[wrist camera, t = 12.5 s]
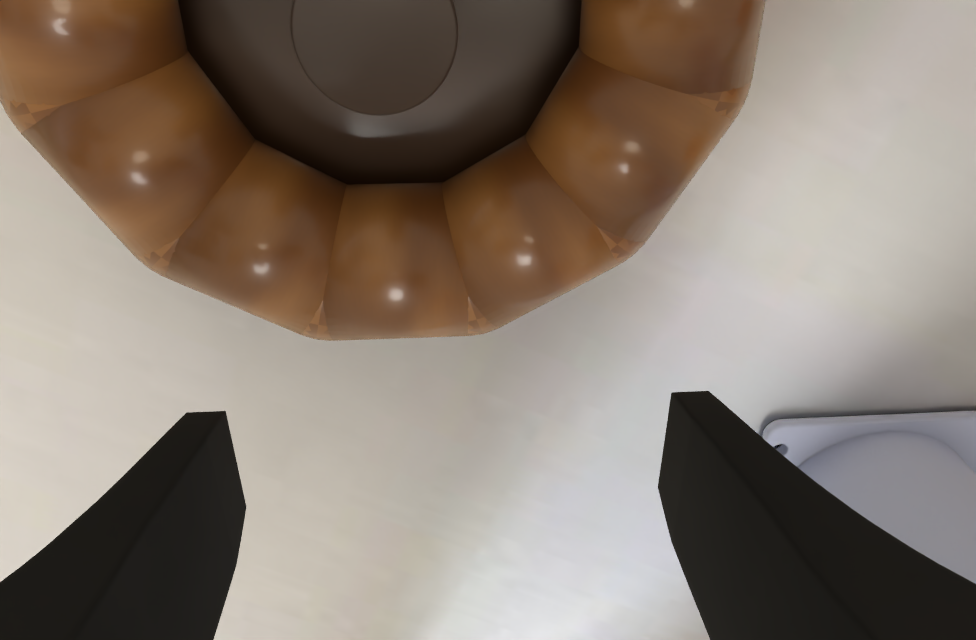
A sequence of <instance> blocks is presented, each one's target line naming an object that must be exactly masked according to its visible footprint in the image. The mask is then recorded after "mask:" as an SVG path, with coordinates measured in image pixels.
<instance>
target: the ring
mask: <svg viewBox="0 0 976 640" xmlns="http://www.w3.org/2000/svg"><path fill="white" fill-rule="evenodd" d="M764 6H765V0H582V2H581V19H580V37H579V47H578V49H577V50H576V52H575V54H574V55H573V57H572V59H571V60H570V62H569V64H568V65H567V67H566V69H565V70H564V72H563V73H562V75H561V77H560V78H559V80H558V82H557V83H556V85H555V87H554V88H553V90H552V92H551V93H550V95H549V97H548V98H547V100H546V102H545V103H544V105H543V107H542V108H541V110H540V112H539V113H538V115H537V117H536V118H535V120H534V122H533V123H532V125H531V127H530V128H529V130H528V131H527V133H526V135H524V136H522V137H520V138H519V139H517V140H515V141H514V142H512V143H510V144H508V145H507V146H505V147H503V148H501V149H500V150H498V151H496V152H495V153H493V154H491V155H489V156H488V157H486V158H484V159H483V160H481V161H479V162H477V163H476V164H474V165H472V166H470V167H469V168H467V169H465V170H464V171H462V172H460V173H458V174H457V175H455V176H453V177H452V178H450V179H448V180H446V181H445V182H438V183H395V184H352V185H347V184H345V183H343V182H341V181H339V180H337V179H335V178H333V177H331V176H329V175H327V174H325V173H322V172H320V171H318V170H316V169H314V168H312V167H310V166H308V165H306V164H304V163H302V162H300V161H298V160H296V159H294V158H292V157H290V156H288V155H286V154H284V153H282V152H280V151H278V150H276V149H274V148H272V147H270V146H268V145H266V144H264V143H262V142H260V141H258V140H256V139H255V138H254V137H253V136H252V135H251V133H250V132H249V131H248V129H247V128H246V127H245V125H244V124H243V123H242V121H241V120H240V119H239V117H238V116H237V115H236V114H235V112H234V111H233V110H232V108H231V107H230V106H229V104H228V103H227V102H226V100H225V99H224V98H223V96H222V95H221V94H220V93H219V91H218V90H217V89H216V87H215V86H214V85H213V83H212V82H211V81H210V79H209V78H208V77H207V75H206V74H205V73H204V72H203V70H202V69H201V68H200V66H199V65H198V64H197V62H196V61H195V60H194V58H193V57H192V56H191V54H190V53H189V52H188V50H187V45H186V40H185V34H184V29H183V24H182V18H181V13H180V8H179V2H178V0H0V101H1V103H2V105H3V107H4V109H5V111H6V113H7V115H8V117H9V118H10V119H11V121H12V122H13V124H14V125H15V126H16V128H17V129H18V130H19V131H20V132H21V134H22V135H23V136H24V137H25V138H26V139H27V140H28V141H29V142H30V144H31V145H32V146H33V147H34V148H35V149H36V150H37V151H38V152H39V153H40V154H41V155H42V157H43V158H44V159H45V160H46V161H47V162H48V163H49V164H50V165H51V166H52V167H53V168H54V169H55V171H56V172H57V173H58V174H59V175H60V176H61V177H62V178H63V179H64V180H65V181H66V182H67V184H68V185H69V186H70V187H71V188H72V189H73V190H74V191H75V192H76V193H77V194H78V195H79V196H80V198H81V199H82V200H83V201H84V202H85V203H86V204H87V205H88V206H89V207H90V208H91V209H92V210H93V212H94V213H95V214H96V215H97V216H98V217H99V218H100V219H101V220H102V221H103V222H104V223H105V225H106V226H107V227H108V228H109V229H110V230H111V231H112V232H113V233H114V234H115V235H116V236H117V237H118V239H119V240H120V241H121V242H122V243H123V244H124V245H125V246H126V247H127V248H128V249H129V250H130V252H131V253H132V254H133V255H134V256H135V257H136V258H137V259H138V260H140V261H141V262H142V263H143V264H144V265H145V266H147V267H148V268H149V269H151V270H153V271H154V272H156V273H158V274H160V275H161V276H164V277H166V278H168V279H170V280H173V281H175V282H177V283H180V284H182V285H184V286H187V287H189V288H192V289H194V290H196V291H199V292H201V293H203V294H206V295H208V296H210V297H213V298H215V299H218V300H220V301H222V302H225V303H227V304H229V305H232V306H234V307H237V308H239V309H241V310H244V311H246V312H248V313H251V314H253V315H255V316H258V317H260V318H263V319H265V320H267V321H270V322H272V323H274V324H277V325H279V326H281V327H284V328H286V329H289V330H291V331H293V332H296V333H298V334H300V335H303V336H306V337H310V338H313V339H318V340H329V341H331V340H333V341H336V340H365V339H394V338H423V337H451V336H473V335H478V334H484V333H487V332H490V331H493V330H495V329H498V328H500V327H502V326H504V325H506V324H508V323H509V322H511V321H513V320H515V319H517V318H519V317H521V316H523V315H525V314H527V313H528V312H530V311H532V310H534V309H536V308H538V307H540V306H542V305H544V304H545V303H547V302H549V301H551V300H553V299H555V298H557V297H559V296H561V295H563V294H564V293H566V292H568V291H570V290H572V289H574V288H576V287H578V286H580V285H581V284H583V283H585V282H587V281H589V280H591V279H593V278H595V277H597V276H599V275H600V274H602V273H604V272H606V271H608V270H610V269H612V268H614V267H616V266H618V265H619V264H621V263H623V262H624V261H626V260H627V259H628V258H630V257H631V256H633V255H634V254H635V253H636V252H637V251H638V250H639V249H640V248H641V247H642V246H643V245H644V244H645V242H646V241H647V240H648V239H649V237H650V236H651V235H652V233H653V232H654V230H655V229H656V228H657V226H658V225H659V223H660V222H661V221H662V219H663V218H664V217H665V215H666V214H667V212H668V211H669V210H670V208H671V207H672V206H673V204H674V203H675V201H676V200H677V199H678V197H679V196H680V195H681V193H682V192H683V190H684V189H685V188H686V186H687V185H688V183H689V182H690V181H691V179H692V178H693V177H694V175H695V174H696V172H697V171H698V170H699V168H700V167H701V166H702V164H703V163H704V161H705V160H706V159H707V157H708V156H709V155H710V153H711V152H712V150H713V149H714V148H715V146H716V145H717V143H718V142H719V141H720V139H721V138H722V137H723V135H724V134H725V132H726V131H727V130H728V128H729V127H730V126H731V124H732V123H733V121H734V120H735V118H736V117H737V115H738V114H739V112H740V110H741V108H742V107H743V105H744V103H745V100H746V98H747V96H748V92H749V89H750V86H751V81H752V77H753V71H754V65H755V59H756V53H757V47H758V41H759V35H760V30H761V24H762V18H763V12H764Z"/></svg>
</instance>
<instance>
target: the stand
mask: <svg viewBox="0 0 976 640" xmlns="http://www.w3.org/2000/svg"><path fill="white" fill-rule="evenodd" d="M178 2H179V8H180V13H181V18H182V24H183V29H184V34H185V40H186V45H187V50H188V52H189V53H190V54H191V56H192V57H193V58H194V60H195V61H196V62H197V64H198V65H199V66H200V68H201V69H202V70H203V72H204V73H205V74H206V75H207V77H208V78H209V79H210V81H211V82H212V83H213V85H214V86H215V87H216V89H217V90H218V91H219V93H220V94H221V95H222V96H223V98H224V99H225V100H226V102H227V103H228V104H229V106H230V107H231V108H232V110H233V111H234V112H235V114H236V115H237V116H238V117H239V119H240V120H241V121H242V123H243V124H244V125H245V127H246V128H247V129H248V131H249V132H250V133H251V135H252V136H253V137H254V138H255V139H256V140H258V141H260V142H262V143H264V144H266V145H268V146H270V147H272V148H274V149H276V150H278V151H280V152H282V153H284V154H286V155H288V156H290V157H292V158H294V159H296V160H298V161H300V162H302V163H304V164H306V165H308V166H310V167H312V168H314V169H316V170H318V171H320V172H322V173H325V174H327V175H329V176H331V177H333V178H335V179H337V180H339V181H341V182H343V183H345V184H347V185H352V184H395V183H438V182H445V181H446V180H448V179H450V178H452V177H453V176H455V175H457V174H458V173H460V172H462V171H464V170H465V169H467V168H469V167H470V166H472V165H474V164H476V163H477V162H479V161H481V160H483V159H484V158H486V157H488V156H489V155H491V154H493V153H495V152H496V151H498V150H500V149H501V148H503V147H505V146H507V145H508V144H510V143H512V142H514V141H515V140H517V139H519V138H520V137H522V136H524V135H526V133H527V131H528V130H529V128H530V127H531V125H532V123H533V122H534V120H535V118H536V117H537V115H538V113H539V112H540V110H541V108H542V107H543V105H544V103H545V102H546V100H547V98H548V97H549V95H550V93H551V92H552V90H553V88H554V87H555V85H556V83H557V82H558V80H559V78H560V77H561V75H562V73H563V72H564V70H565V69H566V67H567V65H568V64H569V62H570V60H571V59H572V57H573V55H574V54H575V52H576V50H577V49H578V47H579V37H580V19H581V2H582V0H178Z"/></svg>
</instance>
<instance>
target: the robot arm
mask: <svg viewBox="0 0 976 640" xmlns="http://www.w3.org/2000/svg"><path fill="white" fill-rule="evenodd" d="M780 444H782V445H781V446H780V447H778V448H776V449H775V448H774V447H775V446H776V445H780ZM658 489H659V493H660V497H661V501H662V506H663V510H664V514H665V518H666V522H667V526H668V529H669V533H670V537H671V541H672V544H673V546H674V549H675V552H676V554H677V557H678V559H679V562H680V564H681V567H682V570H683V572H684V575H685V577H686V580H687V582H688V585H689V587H690V590H691V592H692V595H693V597H694V600H695V602H696V605H697V607H698V610H699V612H700V615H701V617H702V620H703V622H704V625H705V627H706V630H707V632H708V635H709V637H710V640H976V411H955V412H932V413H909V414H886V415H864V416H841V417H818V418H796V419H779V420H775V421H773V422H771V423H769V424H768V425H767V426H766V427H765V429H764V431H763V435H762V437H761V436H760V435H758V434H757V433H756V432H755V431H754V430H753V429H752V428H750V427H749V426H748V425H747V424H746V423H745V422H744V421H742V420H741V419H740V418H739V417H738V416H737V415H736V414H734V413H733V412H732V411H731V410H730V409H729V408H728V407H727V406H725V405H724V404H723V403H722V402H721V401H720V400H718V399H717V398H716V397H715V396H714V395H712V394H711V393H710V392H709V391H697V392H673V393H672V394H671V400H670V407H669V414H668V421H667V428H666V435H665V442H664V449H663V456H662V463H661V470H660V477H659V484H658ZM245 511H246V504H245V499H244V494H243V490H242V485H241V480H240V476H239V471H238V467H237V462H236V457H235V453H234V448H233V444H232V439H231V434H230V430H229V425H228V420H227V416H226V411H217V412H193V413H186V414H185V415H184V416H183V417H182V418H181V419H180V420H179V421H178V422H177V423H176V424H175V425H174V426H173V427H172V428H171V429H170V430H169V431H168V432H167V433H166V434H165V435H164V436H163V437H162V438H161V439H160V440H159V441H158V442H157V443H156V444H155V445H154V446H153V447H152V448H151V449H150V450H149V451H148V452H147V453H146V454H145V455H144V456H143V457H142V458H141V459H140V460H139V461H138V462H137V463H136V464H135V465H134V466H133V467H132V468H131V469H130V470H129V471H128V472H127V473H126V474H125V475H124V476H123V477H122V478H121V479H120V480H119V481H118V482H117V483H115V484H114V485H113V486H112V487H111V488H110V489H109V490H108V491H107V492H106V493H105V494H104V495H103V496H102V497H101V498H100V499H99V500H98V501H97V502H96V503H95V504H93V505H92V506H91V507H90V508H89V509H88V510H87V511H86V512H84V513H83V514H82V515H81V516H80V517H79V518H78V519H77V520H75V521H74V522H73V523H72V524H71V525H70V526H69V527H68V528H66V529H65V530H64V531H63V532H62V533H61V534H60V535H59V536H57V537H56V538H55V539H54V540H53V541H52V542H51V543H49V544H48V545H47V546H46V547H45V548H43V549H42V550H41V551H40V552H39V553H37V554H36V555H35V556H34V557H32V558H31V559H30V560H29V561H27V562H26V563H25V564H24V565H22V566H21V567H20V568H19V569H17V570H16V571H15V572H13V573H12V574H11V575H9V576H8V577H7V578H5V579H4V580H3V581H1V582H0V640H213V639H214V636H215V632H216V629H217V626H218V623H219V620H220V617H221V613H222V610H223V607H224V604H225V600H226V597H227V594H228V591H229V587H230V584H231V581H232V578H233V574H234V571H235V567H236V564H237V558H238V553H239V547H240V542H241V536H242V530H243V524H244V518H245Z"/></svg>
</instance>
